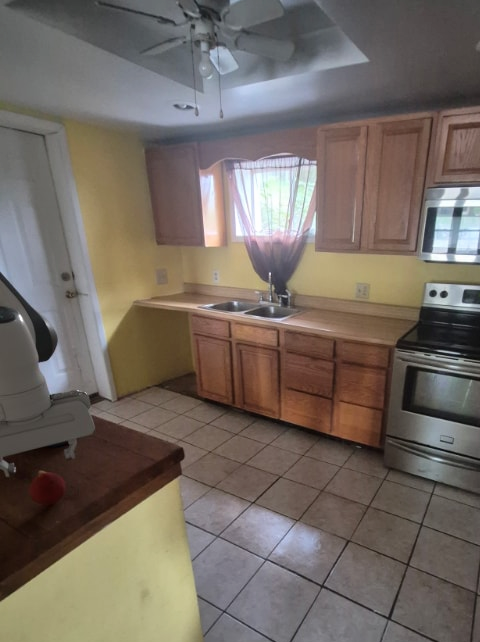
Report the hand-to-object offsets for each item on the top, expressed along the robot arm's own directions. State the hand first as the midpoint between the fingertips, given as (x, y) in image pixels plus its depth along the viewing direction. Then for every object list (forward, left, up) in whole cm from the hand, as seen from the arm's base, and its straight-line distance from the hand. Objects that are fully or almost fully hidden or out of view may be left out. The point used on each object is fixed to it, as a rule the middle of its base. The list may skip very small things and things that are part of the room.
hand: (42, 465), depth 70 cm
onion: (0, 0, -9) cm, 9 cm away
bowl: (-12, +25, -9) cm, 29 cm away
